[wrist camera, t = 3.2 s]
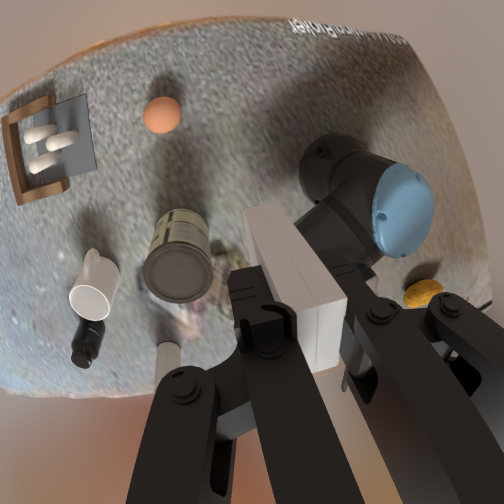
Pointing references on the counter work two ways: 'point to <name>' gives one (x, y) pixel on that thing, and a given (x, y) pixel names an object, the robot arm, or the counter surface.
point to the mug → (95, 287)
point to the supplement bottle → (87, 342)
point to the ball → (162, 115)
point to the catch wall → (15, 155)
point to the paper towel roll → (166, 360)
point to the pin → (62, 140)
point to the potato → (421, 292)
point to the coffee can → (179, 258)
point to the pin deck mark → (74, 155)
